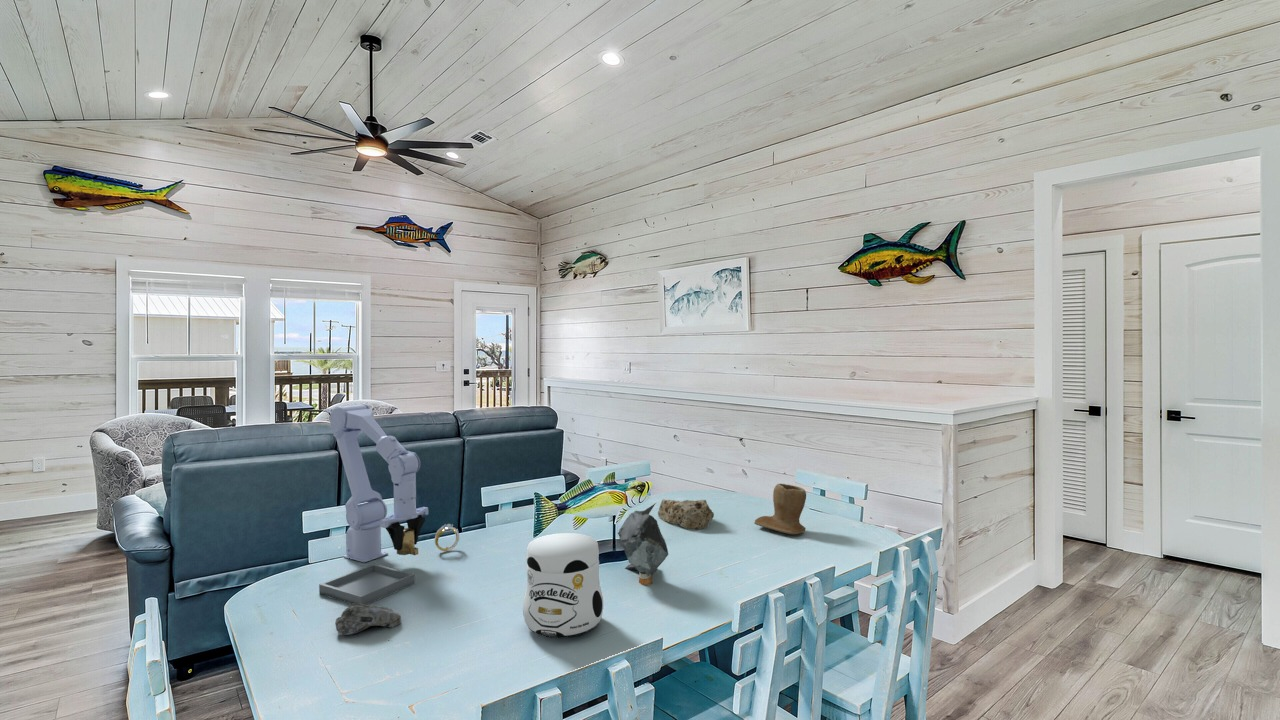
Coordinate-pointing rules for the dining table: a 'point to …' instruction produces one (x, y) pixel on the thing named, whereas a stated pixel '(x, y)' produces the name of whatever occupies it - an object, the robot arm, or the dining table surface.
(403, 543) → the brass short cylinder
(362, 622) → the grey rough irregular lump
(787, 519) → the brown flared cylinder
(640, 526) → the grey faceted chunk
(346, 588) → the tray
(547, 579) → the doce de leite jar
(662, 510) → the rock
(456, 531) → the ring
